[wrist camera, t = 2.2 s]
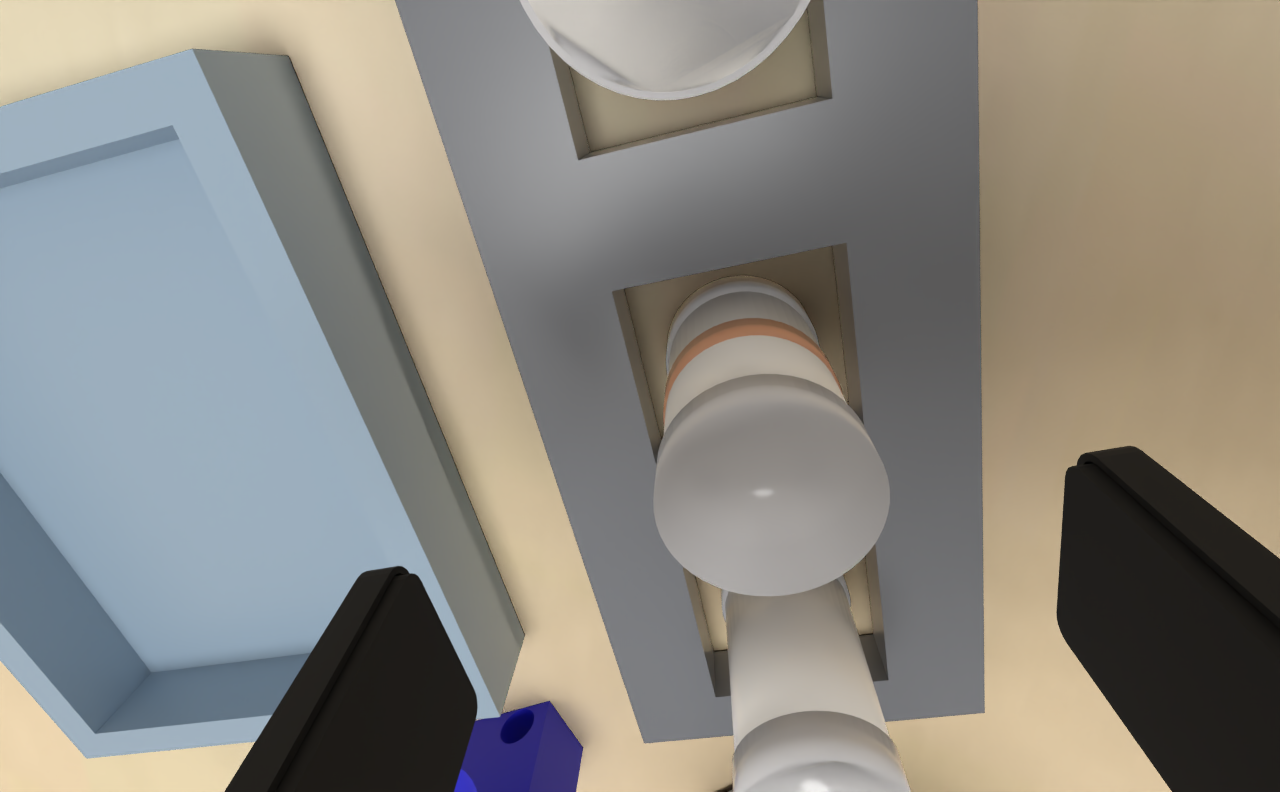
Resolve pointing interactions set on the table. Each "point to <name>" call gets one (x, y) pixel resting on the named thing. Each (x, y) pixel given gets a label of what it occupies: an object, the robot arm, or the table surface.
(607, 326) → the fuse holder
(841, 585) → the cylinder
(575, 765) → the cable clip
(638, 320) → the table surface
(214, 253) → the tray
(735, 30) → the cylinder
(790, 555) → the marked fuse
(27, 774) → the table surface
